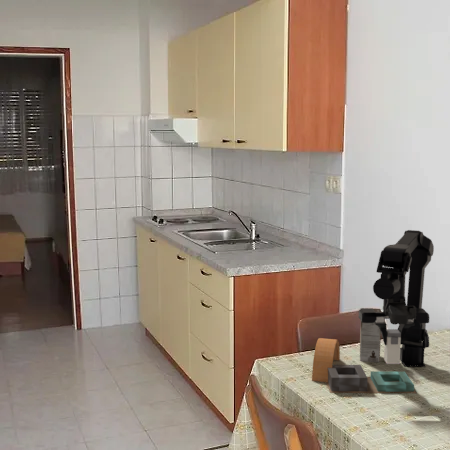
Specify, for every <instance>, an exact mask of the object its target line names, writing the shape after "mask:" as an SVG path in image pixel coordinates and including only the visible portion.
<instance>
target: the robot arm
mask: <svg viewBox="0 0 450 450" xmlns="http://www.w3.org/2000/svg"><path fill="white" fill-rule="evenodd" d="M434 248H435V247H434V243H433V241H432V239H430V238H429V237H427V236H426V235H424V233H423V231H421V230H412V229H408V230H405V231H404V233H403V235H402V237H401V238H400V239H398V241H397V242H396V243H395V244H387V245H386V246H385V247H384V248H383V250H381V252H380V255H379V259H378V263H377V267H376V273H380V278H378V279H377V280H375V281H374V283H373V286H372V290H373V294H374V295H375V296H376V297H377V298H378V299H379V300H382V301H383V306H382V311H381V312H375V311H374V309H375V308H373V307H372V308H371V307H365V308H364V307H361V308H360V309H358V319H359V320H360V323H361V322H362V323H375V325H377V326H378V327H379V329H380V332H381V338H382V342H383V344H384V346H385V345H387V334H386V329H387V322H386V321H385V320H386V319H389V323H390V324H392V325H396V326H397V325H398V326H397V327H398V328H397V329H398V330H399V332H400V333H401V346H400V363H402V364H403V366H404V367H426V364H425V349H428V348H430V336H429V334H428V330H427V329H426V328H427V327H426V326H427V324H429V323H430V314H429V313H428V312H427V311H426V310H425V309H424V308H423V298H424V297H423V296H424V294H423V293H424V285H425V284H424V283H425V282H424V281H425V270H426V268H427V266H428V265H429V264H430V262H431V261H432V256H434ZM407 273H408V285H407V287H408V288H407V298H406V295H405V293H406V275H407Z"/></svg>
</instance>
